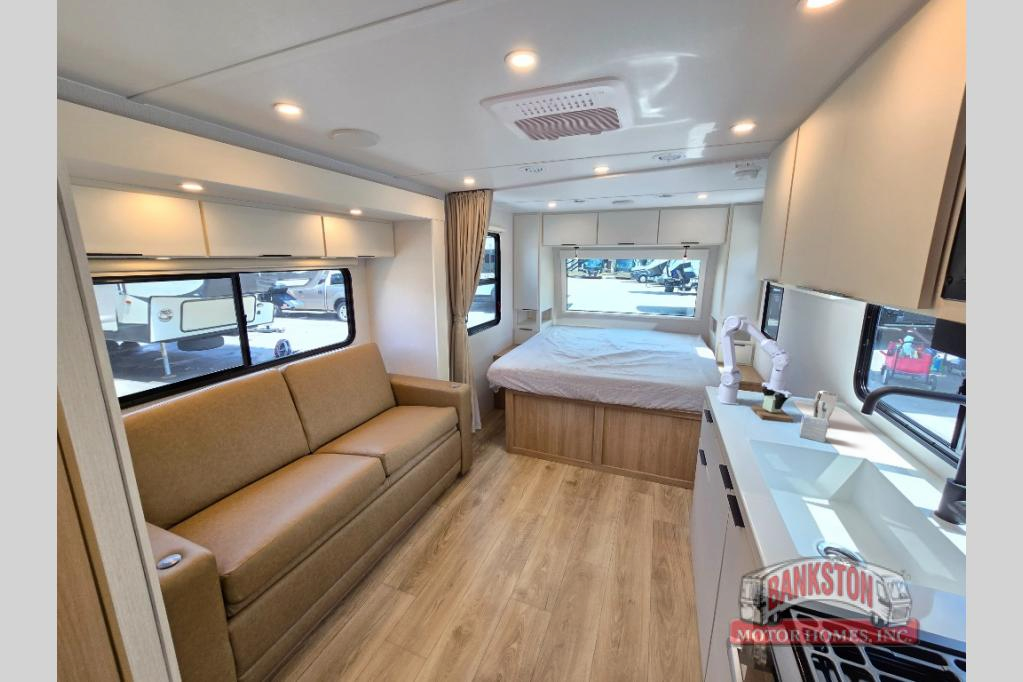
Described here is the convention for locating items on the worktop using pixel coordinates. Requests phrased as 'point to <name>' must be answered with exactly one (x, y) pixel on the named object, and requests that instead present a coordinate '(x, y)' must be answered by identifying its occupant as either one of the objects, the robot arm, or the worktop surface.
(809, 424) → the medicine box
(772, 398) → the sage block
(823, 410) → the beer glass
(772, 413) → the walnut base
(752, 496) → the worktop surface
